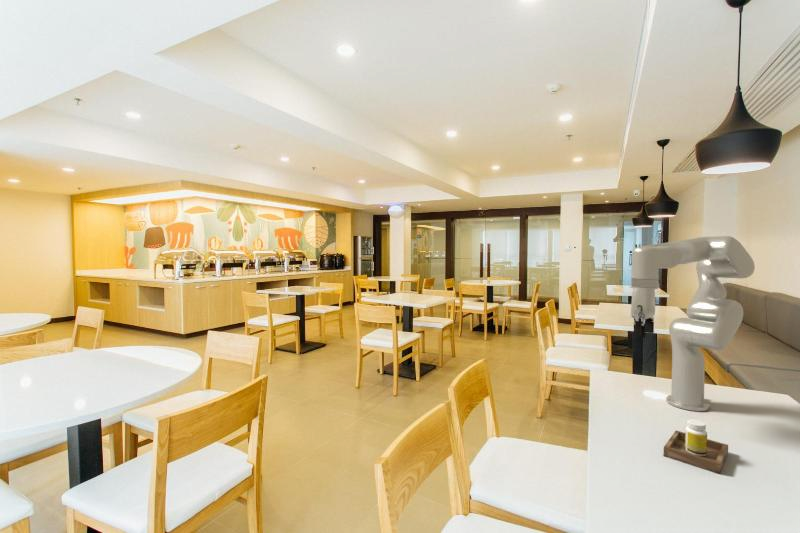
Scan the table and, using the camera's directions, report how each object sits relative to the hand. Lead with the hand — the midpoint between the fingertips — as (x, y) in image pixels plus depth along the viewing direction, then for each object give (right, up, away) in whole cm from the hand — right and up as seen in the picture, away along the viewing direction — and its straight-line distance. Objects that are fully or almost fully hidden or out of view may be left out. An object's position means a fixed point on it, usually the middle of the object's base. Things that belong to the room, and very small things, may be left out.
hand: (643, 334), depth 127 cm
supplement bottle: (0, -29, -22) cm, 36 cm away
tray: (0, -29, -22) cm, 37 cm away
